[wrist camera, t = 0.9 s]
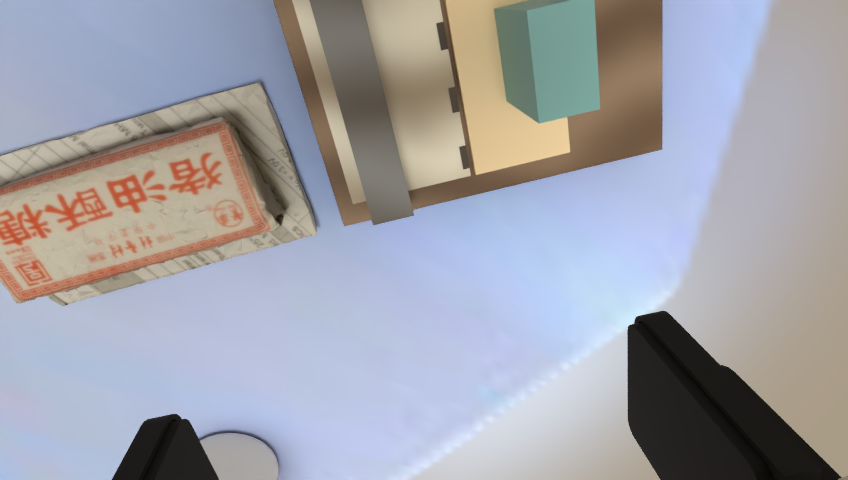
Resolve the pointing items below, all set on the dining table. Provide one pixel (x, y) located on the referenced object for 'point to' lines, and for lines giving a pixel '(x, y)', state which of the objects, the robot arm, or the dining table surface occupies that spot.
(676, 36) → the dining table surface
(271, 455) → the milk bottle
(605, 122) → the ticket board
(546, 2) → the teal block on plate
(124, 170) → the packaged product
